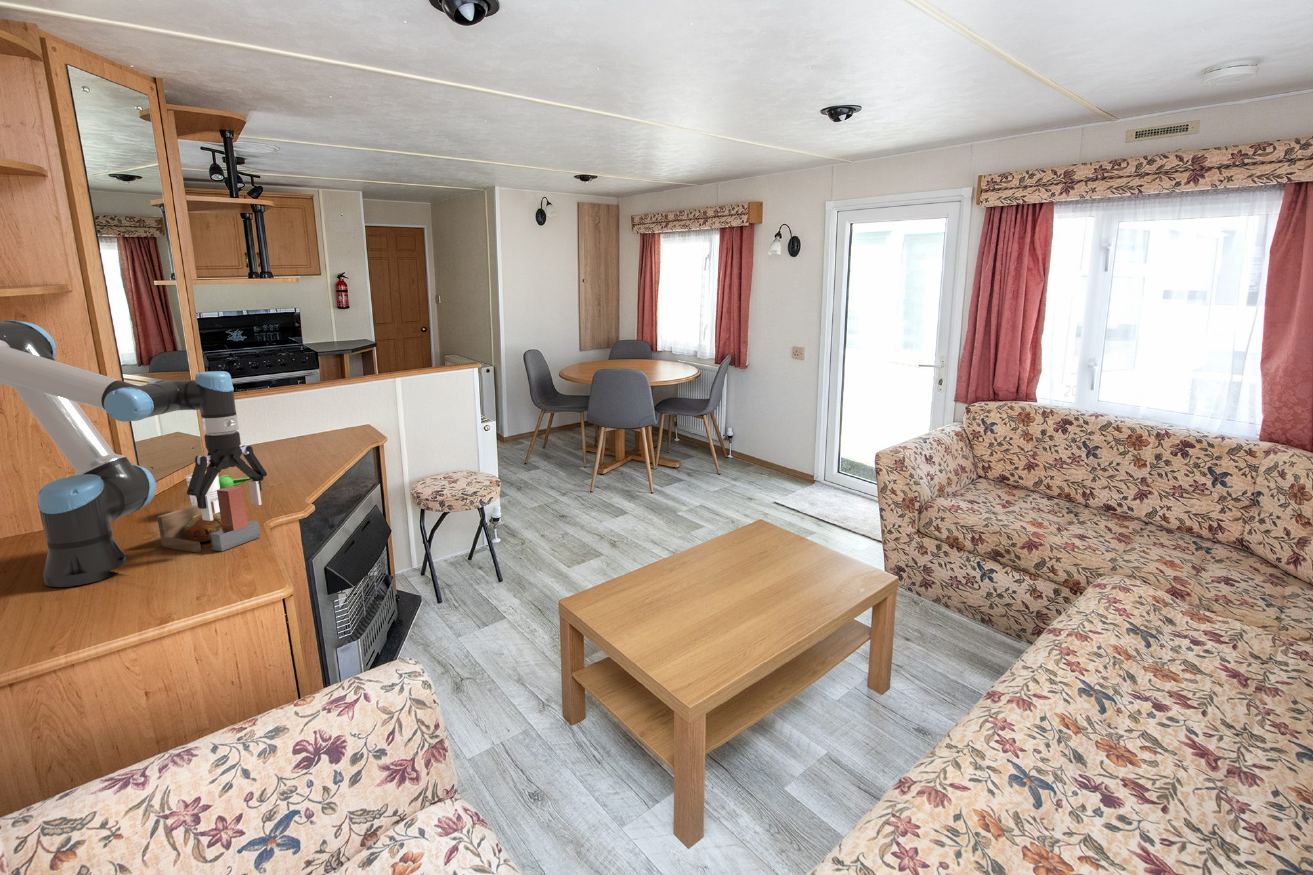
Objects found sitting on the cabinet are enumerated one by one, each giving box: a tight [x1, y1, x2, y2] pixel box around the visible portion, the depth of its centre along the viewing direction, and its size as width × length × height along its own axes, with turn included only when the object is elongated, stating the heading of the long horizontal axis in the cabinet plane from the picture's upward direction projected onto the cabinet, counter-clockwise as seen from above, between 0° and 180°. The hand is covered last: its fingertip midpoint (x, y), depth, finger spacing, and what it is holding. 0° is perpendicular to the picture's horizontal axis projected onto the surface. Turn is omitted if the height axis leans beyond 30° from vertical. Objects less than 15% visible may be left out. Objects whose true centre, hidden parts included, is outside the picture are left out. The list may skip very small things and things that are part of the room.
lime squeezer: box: [219, 474, 252, 489], centre depth 214 cm, size 34×12×6 cm, turn 18°
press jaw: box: [209, 485, 261, 552], centre depth 167 cm, size 11×4×15 cm, turn 161°
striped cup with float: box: [184, 470, 220, 514], centre depth 194 cm, size 10×8×12 cm
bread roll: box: [184, 513, 222, 543], centre depth 172 cm, size 10×10×8 cm
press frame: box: [156, 502, 215, 553], centre depth 172 cm, size 15×14×8 cm
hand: (233, 511), depth 167 cm, fingers open, 13 cm apart
